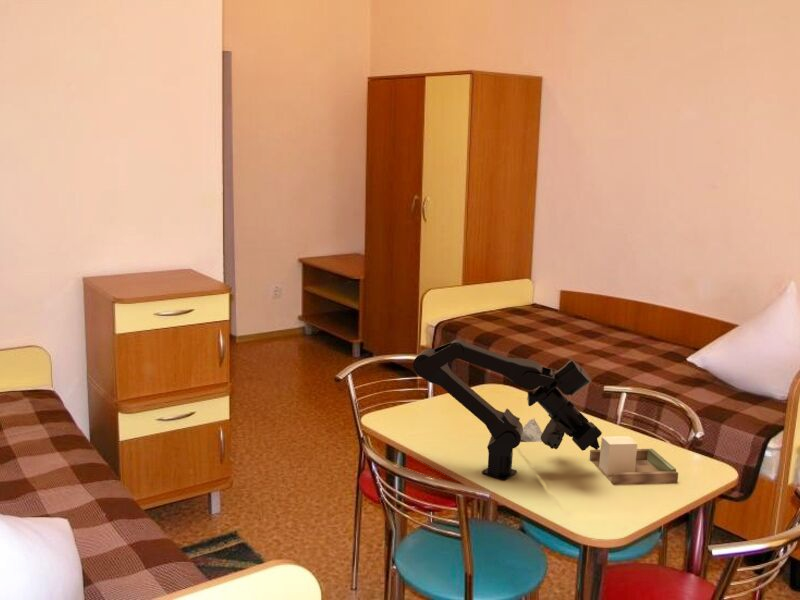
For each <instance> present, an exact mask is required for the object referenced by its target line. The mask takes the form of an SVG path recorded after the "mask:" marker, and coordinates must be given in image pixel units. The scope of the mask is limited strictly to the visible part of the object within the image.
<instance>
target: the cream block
mask: <svg viewBox="0 0 800 600" xmlns="http://www.w3.org/2000/svg"><path fill="white" fill-rule="evenodd" d="M637 449H638V443H637V442H636V441H635V440H634V439H632V438H631V437H630V436H628V435H627V436H626V435H625V436H624V435H622V436H621V435H620V436H615V435H613V436H601V441H600V450H601V451H600V462H599V468H600V469H601V470H602V471H603V472H604V473H605V474H606V475H607V476H610V475H612V473H616V472H635V463H636V453H637Z"/></svg>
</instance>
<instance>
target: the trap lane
mask: <svg viewBox="0 0 800 600" xmlns="http://www.w3.org/2000/svg"><path fill="white" fill-rule="evenodd" d="M600 451H601V449H597V450H596V449H590V451H589V460H590V462H591V463H592V464H594V466H595V467H596V468H597V469H598V470H599V471H600V473H602V475H603V476H605V478H606V479H607V480H608V481H609V482H610V483H611V484H612V485H613V486H615V485H616V486H619V485H624V486H626V485H654V484H655V485H659V484H660V485H663V484H678V481H679V480H678V479H679V472H678V471H677V468H676V467H674V466H673V465H672V464H671V463H670V462H668V461H667V459H665V458H664V457H663V456H662V455H661V454H659V453H658V452H657V451H656V450H655V449H653V448H637V453H636V463H635V472H616V473H612V475H610V476H607V475H606V474H605V473H604V472H603V471H602V470H601V469H600V468H599V462H600Z"/></svg>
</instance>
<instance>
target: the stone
mask: <svg viewBox="0 0 800 600" xmlns="http://www.w3.org/2000/svg"><path fill="white" fill-rule="evenodd" d="M542 433H543V431H542V429H541V427H540V426H539V424H538V423H537V421H536V419H535V418H531V419H529V420H528V421H527V423H526V424H524V426H523V434H522V437H521V441H523V442H526V443H539V442H540V443H543V442H542V440H541V435H542Z"/></svg>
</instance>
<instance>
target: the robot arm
mask: <svg viewBox="0 0 800 600" xmlns="http://www.w3.org/2000/svg"><path fill="white" fill-rule="evenodd" d="M457 359H458V360H461V361H463V362H466V363H469V364H472V365H475V366H478V367H480V368H482V369H487V370H488V371H491V372H494V373H497V374H500V375H502V376H504V377H506V378H507V379H508V380H509V381H511V382H512V383H513V384H515V385H517V386H519V387H521V388H522V389H524V390H526V391H527V397H526V399H527V405H528V407H532V406H533V405H534V404H535V403H536V404H537V403H538V404H539V405H540V407H541V408H542V409H543V410H544V411H545V412H547V416H548V417H549V418H550V420H549V421H548V422H547V424H546V426H545V427H544V430H543V431H542V435H541V440H542V442H541V443H543V444H544V445H545V446H548V447H549V448H550V449H554V450H557V449H559V447H560V445H561V444H562V441H563V440H564V436H565V435H566V436H568V437H570V438H571V441H573V443H574V444H575V445H576V446H577V447H578V448H579V449H580V450H581V451H582V452H583V451H586V450H587V449H588V448H589V447H591V448H592V449H593V450H599V448H601V445H600V444H599V440H598V439H599V438H600V437H602V436H601V435H602V434H603V432H602V430H601V429H599V427H597V426H596V425H595V424H594V423H593V422H592V421H589V419H588V418H587V417H586V416H584V414H583V413H582V412H580V410H579V409H578V408H577V407H576V406H575V405H574V404H573V403H572V402H571V401H570V400H569V398H567V397H566V396H574V395H575V394H576V393H578V392H580V391H581V390H582V389H584V388H585V387H586V386H587V385H589V384H590V383H592V379H591V378H590V375H589V374H588V372H587V371H586V369H584V367H582V366H581V365H580V364H579V363H577V362H576V361H575V360H574V359H573V358H571V359H570V360H568V362H566V364H564V365H562V367H561V368H559V369H558V370H556V369H553V368H549V367H546V366H542V364H540V362H538V361H537V360H532V359H526V358H522V357H521V358H517V357H515V358H514V357H508V356H506V355H503V354H500V353H497V352H494V351H491V350H489V349H486V348H483V347H480V346H477V345H474V344H473V343H469V342H466V341H464V339H460V338H457V339H454V340H452V341H451V342H448V343H446V344H443V345H440V346H438V347H435V348H425V349H423V350H422V351H420V353H419V354H418V355H417V356H415V358H414V360H413V362H412V369H413V371H414V374H415V375H417V376H418V377H420V378H421V379H423V380H425V381H426V382H428V383H431V384H434V385H436V386H438V387H441V388H442V389H443V390H444V391H445V392H447V393H448V394H449V395H450V396H451V397H453V399H455V400H456V401H457V402H458V403H460V405H462V406H463V407H465V409H466V410H468V411H469V412H470V413H471V414H472V415H473V416H475V417H476V418H477V419H479V421H480V422H481V423H483V424H484V425H485V426H486V428H487V429H488V432H489V433H490V439H489V441H488V444H487V447H486V448H487V451H488V454H487V455H488V458H487V468H485V469H483V470H481V473H482V474H484V475H485V476H489V477H493V478H495V479H499V480H501V481H506V480H508V479H509V478H511V477H512V476H514V475H515V474H517V473H518V470H517V469H513V468H512V467H513V455H514V450H515V449H516V448H517V447H519V445H520V443H521V441H522V440H521V437H522V434H523V428H524V426H523V423H521V421H520V419H521V418H520V417H518V416H516V415H514V414H513V412H512V411H510V409H509V408H505V410H504V412H503V411H502V410H498V409H496V408H495V407H494V406H493V405H491V404H490V403H489V401H487V400H486V399H484V398H483V397H482V396H480V395H479V394H478V393H477V392H476V391H475V390H474V389H472V388H471V387H470V386H469V385H468V384H467V383H466V382H464V381H463V380H462V379H461V378H459V376H457V375H456V374H455V373H453V371H452V370H451V368H450V367H449V365H448V364H449V363H452V362H453V361H456V360H457Z"/></svg>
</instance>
